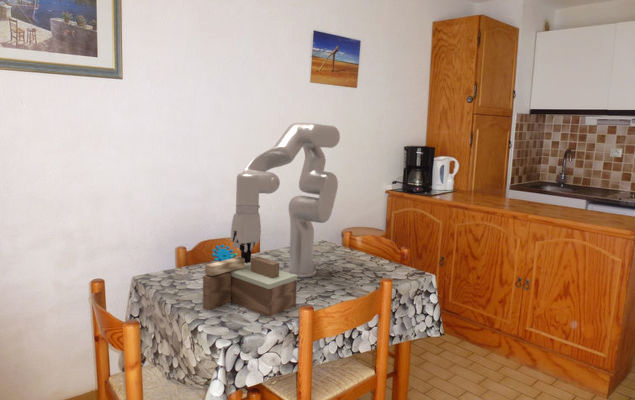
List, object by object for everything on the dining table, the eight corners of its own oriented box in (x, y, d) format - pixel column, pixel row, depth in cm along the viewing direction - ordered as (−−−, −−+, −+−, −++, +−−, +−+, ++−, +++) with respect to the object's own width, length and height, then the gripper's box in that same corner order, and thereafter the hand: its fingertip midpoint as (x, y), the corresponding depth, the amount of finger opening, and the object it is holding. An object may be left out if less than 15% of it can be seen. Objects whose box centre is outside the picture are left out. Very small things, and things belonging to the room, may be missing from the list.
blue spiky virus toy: (214, 264, 193) (211, 243, 199) (210, 271, 197) (207, 250, 203) (239, 264, 199) (236, 244, 204) (234, 271, 203) (231, 251, 208)
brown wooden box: (250, 289, 171) (251, 261, 169) (295, 305, 157) (297, 275, 155) (199, 305, 153) (199, 274, 152) (245, 326, 140) (245, 292, 138)
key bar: (238, 265, 162) (238, 256, 161) (244, 267, 160) (244, 258, 160) (205, 273, 151) (205, 264, 151) (211, 276, 149) (211, 267, 149)
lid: (250, 265, 169) (251, 248, 168) (296, 279, 156) (297, 262, 155) (222, 272, 159) (222, 255, 158) (268, 289, 146) (269, 270, 145)
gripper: (255, 205, 167) (254, 256, 170) (222, 210, 156) (221, 264, 159) (270, 208, 163) (269, 260, 166) (237, 213, 151) (236, 269, 154)
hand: (245, 262), depth 162 cm, fingers closed
